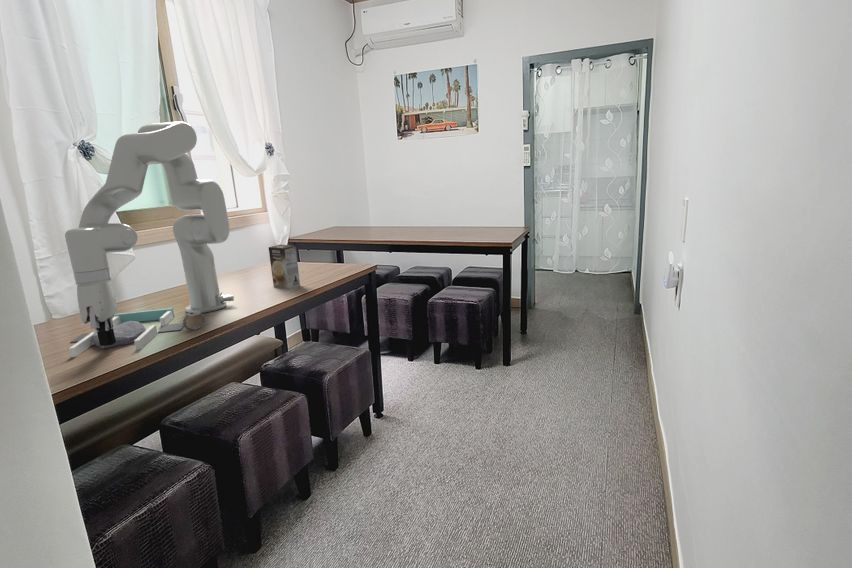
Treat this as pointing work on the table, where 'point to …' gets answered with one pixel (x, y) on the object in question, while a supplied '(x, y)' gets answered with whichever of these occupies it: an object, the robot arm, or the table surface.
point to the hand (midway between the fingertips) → (108, 344)
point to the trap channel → (163, 314)
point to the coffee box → (284, 266)
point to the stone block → (123, 333)
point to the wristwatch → (191, 316)
